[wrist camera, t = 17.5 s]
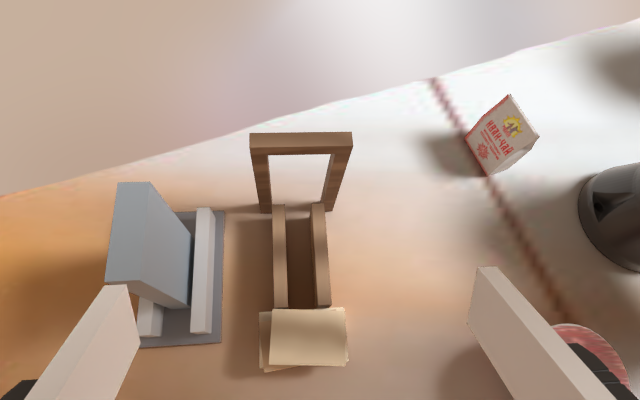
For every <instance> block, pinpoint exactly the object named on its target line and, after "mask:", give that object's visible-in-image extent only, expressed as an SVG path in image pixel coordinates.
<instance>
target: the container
mask: <svg viewBox="0 0 640 400" xmlns="http://www.w3.org/2000/svg"><path fill="white" fill-rule="evenodd" d="M551 327H552V328H553V329H554V330H555V332H556V333H557V334H558V335H559V336H560V337H561V338H562V339H563V340H564V342H565V343H578V344H580V345H581V346H583V347H584V348H586V349H587V350H589V351H590V352H592V353H593V354H595V355H596V356H597V357H598V358H599V359H600V360H601V361H602V362H603V363H604V364H605V365H606V366H607V367H608V369H609V371H610V372H612V373H613V374H614V375H615V376H616V377H617V378H618V379H619V380H620V383H621V384H624V385H625V386H626V387H627V388H628V389H629V390H630V391H631V389H630V383H629V378H628V375H627V372H626V369H625V367H624V365H623V362H622V360H621V358H620V357H619V356H618V354H617V353H616V351H615V350H614V348H613V347H612V346H611V345H610V344H609V343H608V342H607V341H606V340H605V339H604V338H602V337H601V336H600V335H599V334H597V333H596V332H594V331H592V330H590V329H589V328H586V327H583V326H581V325H576V324H570V323H567V324H556V325H552V326H551Z"/></svg>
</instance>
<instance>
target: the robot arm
mask: <svg viewBox="0 0 640 400" xmlns="http://www.w3.org/2000/svg"><path fill="white" fill-rule="evenodd" d="M578 209H579V216H580V220H581V223H582V226H583V228H584V230H585V232H586V234H587V235H588V237H589V239H590V240H591V241H592V243H593V244H594V245H595V246H596V247H597V249H598V250H599V251H600V252H602V253H603V254H604V255H605V256H606V257H607V258H609V259H610V260H612V261H613V262H615V263H616V264H618V265H620V266H622V267H624V268H627V269H630V270H633V271H637V272H640V162H639V163H633V164H628V165H623V166H617V167H613V168H610V169H607V170H605V171H603V172H601V173H600V174H598V175H596V176H594V177H593V178H591V179H590V180H589V181H588V182H587V183H586V184H585V185H584V187H583V188H582V190H581V193H580V196H579V202H578ZM467 324H468V326H469V328H470V329H471V331H472V333H473V334H474V336H475V337H476V339H477V341H478V342H479V344H480V345H481V347H482V349H483V350H484V352H485V353H486V355H487V357H488V358H489V360H490V361H491V363H492V365H493V366H494V368H495V369H496V371H497V373H498V374H499V376H500V377H501V379H502V381H503V382H504V384H505V385H506V387H507V389H508V390H509V392H510V393H511V395H512V397H513V398H514V400H638V399H637V398H636V397H635V396H634V395H633V394H632V393H631V391H630V390H629V389H628V388H627V387H626V386H625V385H624V384H621V383H620V380H619V379H618V378H617V377H616V376H615V375H614V374H613V373H612V372H610V371H609V369H608V367H607V366H606V365H605V364H604V363H603V362H602V361H601V360H600V359H599V358H598V357H597V356H596V355H595V354H593V353H592V352H590V351H589V350H587V349H586V348H584V347H583V346H581V345H580V344H578V343H565V342H564V340H563V339H562V338H561V337H560V336H559V335H558V334H557V333H556V332H555V330H554V329H553V328H552V327H551V326H550V325H549V324H548V323H547V322H546V320H545V319H544V318H543V317H542V316H541V315H540V314H539V313H538V312H537V310H536V309H535V308H534V307H533V306H532V305H531V304H530V303H529V302H528V300H527V299H526V298H525V297H524V296H523V295H522V294H521V293H520V292H519V290H518V289H517V288H516V287H515V286H514V285H513V284H512V283H511V282H510V280H509V279H508V278H507V277H506V276H505V275H504V274H503V273H502V272H501V271H500V269H499V268H498V267H497V266H492V267H478V268H477V273H476V278H475V283H474V289H473V294H472V299H471V304H470V309H469V314H468V319H467ZM140 343H141V342H140V338H139V334H138V330H137V325H136V321H135V317H134V313H133V309H132V305H131V301H130V297H129V292H128V288H127V284H123V285H104V287H103V288H102V290H101V291H100V292H99V294H98V295H97V297H96V298H95V300H94V301H93V302H92V304H91V305H90V307H89V308H88V309H87V311H86V312H85V314H84V315H83V317H82V318H81V319H80V321H79V322H78V324H77V325H76V327H75V328H74V329H73V331H72V332H71V334H70V335H69V336H68V338H67V339H66V341H65V342H64V344H63V345H62V346H61V348H60V349H59V351H58V352H57V353H56V355H55V356H54V358H53V359H52V361H51V362H50V363H49V365H48V366H47V368H46V369H45V371H44V372H43V373H42V375H41V376H40V378H39V379H37V380H22V381H21V382H20V383H19V384H17V385H16V386H15V387H14V388H13V389H11V390H10V391H9V392H8V393H6V394H5V395H4V396H3V397H2V398H1V399H0V400H115V398H116V396H117V394H118V391H119V389H120V387H121V385H122V383H123V381H124V378H125V376H126V374H127V372H128V370H129V367H130V365H131V363H132V361H133V359H134V357H135V354H136V352H137V350H138V348H139V346H140Z"/></svg>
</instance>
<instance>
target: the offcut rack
mask: <svg viewBox="0 0 640 400" xmlns="http://www.w3.org/2000/svg"><path fill="white" fill-rule="evenodd" d="M352 148H353V140H352V132H305V133H250V153H251V159H252V165H253V171H254V176H255V182H256V188H257V194H258V200H259V205H260V211H261V214H263V213H272V229H273V276H274V309H272V311H269V312H259V368H264V373H266V372H271V371H277V370H282V369H287V368H293V367H298V366H303V365H312V366H346V362H349V359H348V348H347V336H346V324H345V311H344V307H337V308H329V307H330V306H331V305H332V301H331V288H330V275H329V261H328V248H327V235H326V221H325V211H332V210H333V207H334V204H335V201H336V198H337V194H338V191H339V188H340V185H341V182H342V179H343V176H344V173H345V170H346V166H347V163H348V160H349V157H350V154H351V151H352ZM305 154H331V156H330V160H329V165H328V169H327V174H326V178H325V183H324V187H323V192H322V196H321V200H320V203H313V204H312V206H311V211H310V234H311V251H312V268H313V285H314V302H315V309H303V310H298V309H288V291H287V262H286V233H285V204H281V205H272V196H271V184H270V173H269V161H268V155H305Z"/></svg>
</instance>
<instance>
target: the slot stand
mask: <svg viewBox="0 0 640 400" xmlns="http://www.w3.org/2000/svg"><path fill="white" fill-rule="evenodd" d="M174 213H175V215H176V216H177V217H178V219H179V220H180V221H181V222H182V224H183V225H184V226H185V228H186V229H187V230H188V231H189V233H190V234H191V235H192V237H193V238H194V239H195V252H194V270H193V288H192V306H191V308H187V309H169V308H167V307H164V306H162V305H159V304H157V303H154V302H152V301H149V300H147V299H145V298H142V297H140V296H139V306H138V315H137V330H138V334H139V338H140V342H141V343H140V346H139V348H145V347H160V346H175V345H191V344H206V343H221V330H222V293H223V256H224V219H225V212H224V211H212V210H211V208H210V207H201V208H197V212H174Z"/></svg>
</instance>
